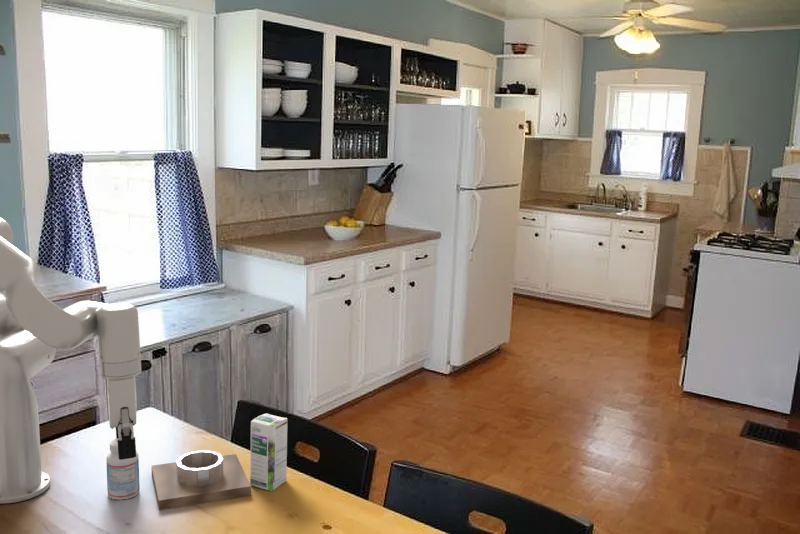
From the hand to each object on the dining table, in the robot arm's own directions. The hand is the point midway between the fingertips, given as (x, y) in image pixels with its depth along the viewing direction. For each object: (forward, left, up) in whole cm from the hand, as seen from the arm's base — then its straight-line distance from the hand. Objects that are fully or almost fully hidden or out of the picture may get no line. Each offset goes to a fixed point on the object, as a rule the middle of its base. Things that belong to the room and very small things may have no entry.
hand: (126, 448), depth 145 cm
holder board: (+14, -1, -10) cm, 17 cm away
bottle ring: (+14, -1, -8) cm, 16 cm away
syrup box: (+28, -5, -10) cm, 30 cm away
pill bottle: (-1, 0, -10) cm, 10 cm away
